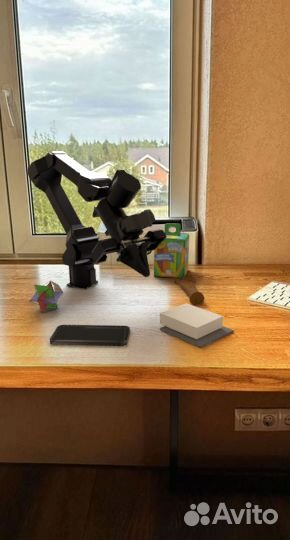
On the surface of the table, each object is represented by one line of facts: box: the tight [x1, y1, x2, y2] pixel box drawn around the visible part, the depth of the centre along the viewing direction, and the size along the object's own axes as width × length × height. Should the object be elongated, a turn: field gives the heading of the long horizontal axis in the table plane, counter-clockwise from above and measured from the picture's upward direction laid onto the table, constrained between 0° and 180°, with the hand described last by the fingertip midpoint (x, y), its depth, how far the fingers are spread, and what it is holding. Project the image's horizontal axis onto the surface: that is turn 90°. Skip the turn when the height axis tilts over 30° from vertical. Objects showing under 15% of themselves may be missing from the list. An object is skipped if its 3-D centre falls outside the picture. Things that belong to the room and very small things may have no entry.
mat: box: [159, 325, 235, 349], centre depth 83 cm, size 11×10×1 cm
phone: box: [49, 324, 131, 347], centre depth 81 cm, size 8×1×15 cm
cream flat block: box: [159, 302, 224, 339], centre depth 84 cm, size 3×8×10 cm
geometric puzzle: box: [29, 280, 64, 314], centre depth 94 cm, size 7×7×8 cm
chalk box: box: [153, 222, 190, 279], centre depth 119 cm, size 9×9×15 cm
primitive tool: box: [174, 278, 205, 306], centre depth 106 cm, size 19×6×4 cm, turn 7°
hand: (148, 276), depth 91 cm, fingers closed
